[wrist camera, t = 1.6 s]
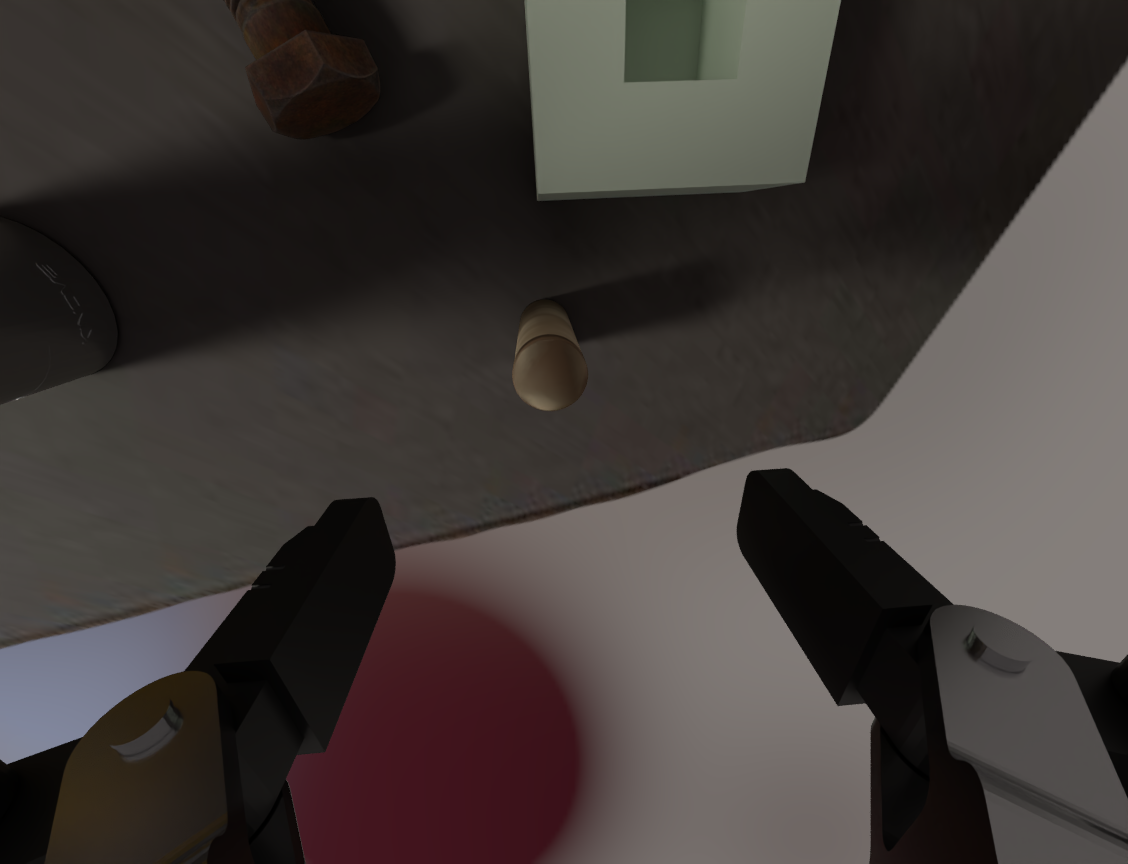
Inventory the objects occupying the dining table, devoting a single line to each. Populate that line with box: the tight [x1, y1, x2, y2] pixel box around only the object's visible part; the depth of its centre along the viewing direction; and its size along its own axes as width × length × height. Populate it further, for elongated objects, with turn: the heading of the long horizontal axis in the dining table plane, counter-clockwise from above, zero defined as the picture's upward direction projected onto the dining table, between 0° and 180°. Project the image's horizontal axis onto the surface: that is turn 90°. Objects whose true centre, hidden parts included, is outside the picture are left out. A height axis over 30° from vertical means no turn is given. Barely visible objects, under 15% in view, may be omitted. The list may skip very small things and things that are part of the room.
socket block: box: [525, 0, 841, 201], centre depth 18 cm, size 12×12×6 cm
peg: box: [512, 300, 588, 411], centre depth 22 cm, size 3×3×10 cm
